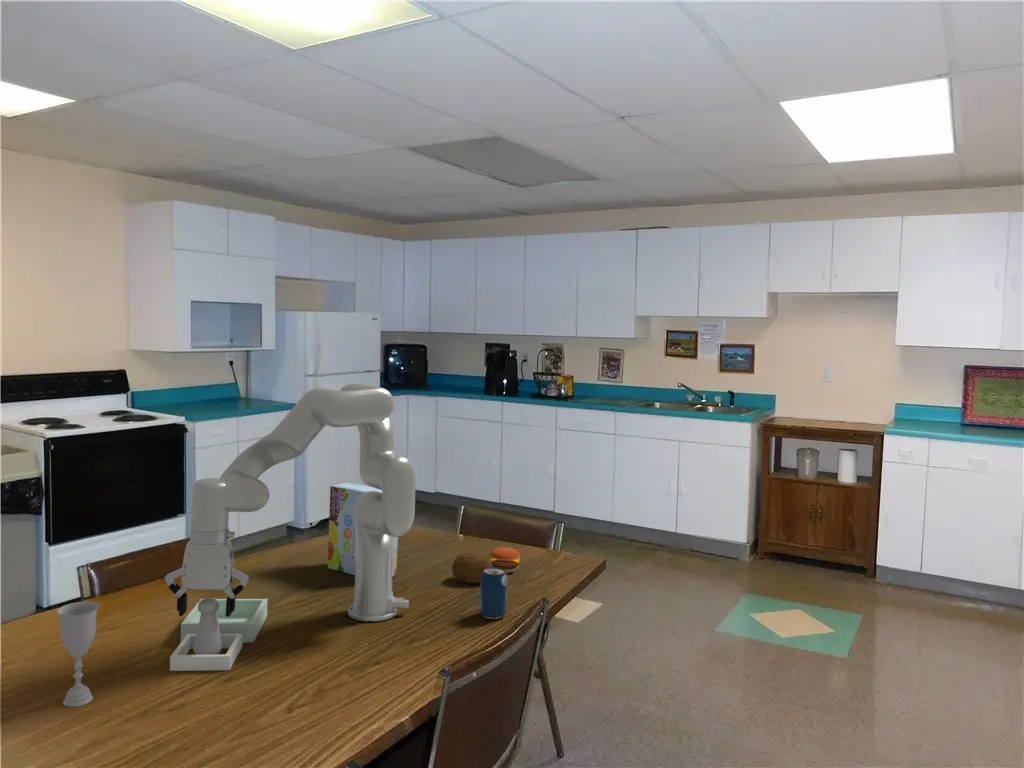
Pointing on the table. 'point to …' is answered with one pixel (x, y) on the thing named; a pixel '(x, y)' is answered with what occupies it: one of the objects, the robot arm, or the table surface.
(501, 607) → the soda can
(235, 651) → the grey square frame
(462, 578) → the potato
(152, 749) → the table surface
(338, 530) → the snack box
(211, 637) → the salt shaker
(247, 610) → the green bin
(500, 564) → the hamburger
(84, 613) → the chalice
